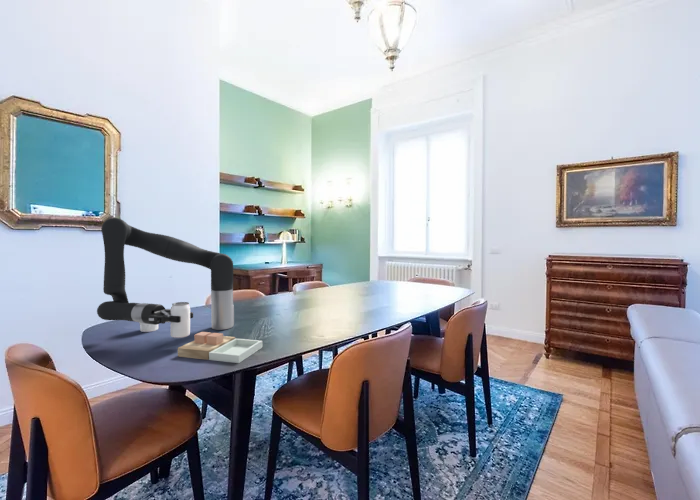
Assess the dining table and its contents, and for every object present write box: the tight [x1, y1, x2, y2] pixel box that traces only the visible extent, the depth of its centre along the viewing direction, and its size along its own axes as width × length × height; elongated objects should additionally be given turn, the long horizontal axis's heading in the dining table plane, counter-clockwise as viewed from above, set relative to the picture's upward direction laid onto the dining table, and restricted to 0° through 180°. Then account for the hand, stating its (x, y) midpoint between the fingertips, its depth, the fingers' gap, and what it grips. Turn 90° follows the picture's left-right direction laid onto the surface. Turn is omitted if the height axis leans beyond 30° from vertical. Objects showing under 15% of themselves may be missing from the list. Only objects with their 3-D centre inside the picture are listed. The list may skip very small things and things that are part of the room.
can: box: [170, 301, 191, 339], centre depth 125 cm, size 6×6×12 cm
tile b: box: [207, 332, 224, 345], centre depth 122 cm, size 4×4×3 cm
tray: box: [208, 337, 263, 364], centre depth 121 cm, size 16×11×2 cm
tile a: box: [193, 331, 212, 344], centre depth 124 cm, size 4×4×3 cm
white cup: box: [139, 323, 160, 333], centre depth 148 cm, size 8×8×10 cm
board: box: [177, 335, 236, 361], centre depth 123 cm, size 16×12×3 cm
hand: (186, 317), depth 125 cm, fingers closed on can, 6 cm apart
